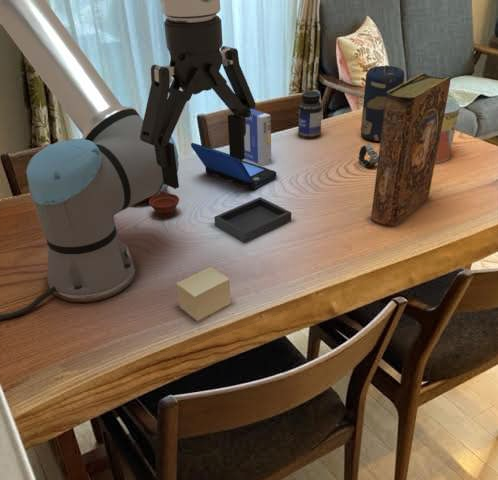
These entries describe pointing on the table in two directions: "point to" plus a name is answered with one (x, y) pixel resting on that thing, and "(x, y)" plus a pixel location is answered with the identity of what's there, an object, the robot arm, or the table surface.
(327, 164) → the table surface
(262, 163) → the walkman
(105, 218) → the robot arm
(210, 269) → the beige rectangular block
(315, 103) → the pill bottle
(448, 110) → the canned food
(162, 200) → the pottery
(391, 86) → the canister
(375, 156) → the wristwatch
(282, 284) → the table surface
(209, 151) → the game console
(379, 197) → the book
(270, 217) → the dark grey tray
